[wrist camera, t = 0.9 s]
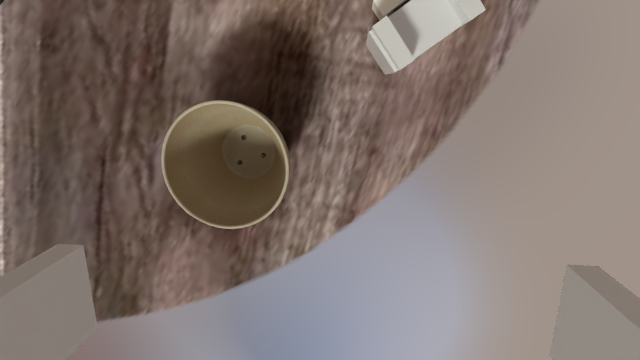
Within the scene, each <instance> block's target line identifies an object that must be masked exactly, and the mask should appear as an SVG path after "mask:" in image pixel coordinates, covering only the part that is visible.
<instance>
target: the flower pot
mask: <svg viewBox="0 0 640 360" xmlns="http://www.w3.org/2000/svg"><path fill="white" fill-rule="evenodd" d="M242 136H243V137H244V140H243V139H242ZM262 153H265V155H263V154H262ZM240 162H242V164H240ZM161 164H162V171H163V176H164V179H165V182H166V185H167V187H168V189H169V191H170V193H171V194H172V196H173V197H174V199H175V200H176V202H177V203H178V204H179V205H180V206H181V207H182V208H183V209H184V210H185V211H186V212H187V213H188V214H190V215H191V216H192V217H194V218H195V219H197V220H199V221H201V222H203V223H206V224H208V225H211V226H214V227H219V228H226V229H236V228H243V227H247V226H250V225H253V224H255V223H258V222H259V221H261V220H263V219H264V218H266V217H267V216H268V215H270V214H271V213H272V212H273V211H274V209H275V208H276V207H277V206H278V204H279V203H280V201H281V200H282V198H283V196H284V193H285V191H286V188H287V185H288V180H289V174H290V158H289V153H288V148H287V145H286V142H285V140H284V138H283V136H282V134H281V132H280V131H279V129H278V128H277V127H276V126H275V124H274V123H273V122H272V121H271V120H270V119H269V118H268V117H266V116H265V115H264V114H262V113H261V112H259V111H258V110H256V109H254V108H252V107H250V106H247V105H244V104H242V103H238V102H233V101H226V100H213V101H207V102H203V103H200V104H197V105H195V106H193V107H191V108H189V109H187V110H186V111H184V112H183V113H182V114H181V115H180V116H179V117H178V118H177V119H176V120H175V121H174V122H173V124H172V125H171V127H170V128H169V130H168V132H167V134H166V136H165V139H164V143H163V147H162V155H161Z"/></svg>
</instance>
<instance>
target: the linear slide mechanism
mask: <svg viewBox="0 0 640 360" xmlns="http://www.w3.org/2000/svg"><path fill="white" fill-rule="evenodd" d="M372 10H373V11H374V13H375V15H376V16H377V18H378V19H379V22H377V23H376V24H375V25H373V26H372V29H371V30H370V31H369V32H368V37H367V41H366V46H367V48H368V49H369V51H370V52H371V54H372V55H373V57H374V58H375V60H376V62H377V63H378V65H379V66H380V68H381V69H382V71H383V72H384V74H385V75H386V74H390V73H395V72H396V71H398V70H401V69H402V68H404V67H405V66H407V65H408V64H409V63H411V62H412V61H414V60H415V58H416V57H418V56H419V55H420V54H422V53H423V52H425V51H426V50H427V49H429V48H430V47H432V46H433V45H435V44H436V43H437V42H439V41H440V40H442V39H443V38H445V37H446V36H447V35H449V34H450V33H452V32H453V31H454V30H456V29H457V28H459V27H460V26H462V25H463V24H465V23H467V22H469V21H470V20H472V19H473V18H475V17H476V16H478V15H479V14H480V13H482V12H483V11H485V10H486V9H485V8H484V6H483V4H482V3H481V1H480V0H373V5H372Z"/></svg>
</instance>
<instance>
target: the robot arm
mask: <svg viewBox="0 0 640 360" xmlns="http://www.w3.org/2000/svg"><path fill="white" fill-rule="evenodd" d="M2 2H3V0H0V4H1V3H2ZM96 330H97V323H96V317H95V311H94V305H93V300H92V294H91V288H90V282H89V276H88V271H87V265H86V259H85V253H84V248H83V245H66V244H57V245H55V246H54V247H52V248H50V249H48V250H47V251H45V252H43V253H41V254H40V255H38V256H36V257H34V258H33V259H31V260H29V261H27V262H26V263H24V264H22V265H20V266H19V267H17V268H15V269H13V270H12V271H10V272H8V273H6V274H5V275H3V276H1V277H0V360H67V359H68V358H69V357H70V356H71V355H72V354H73V353H74V352H75V351H76V350H77V349H78V348H79V347H80V346H81V345H82V344H83V343H84V342H85V341H86V340H87V339H88V338H89V337H90V336H91V335H92V334H93V333H94V332H95V331H96ZM550 357H551V358H552V360H640V298H638V297H637V296H636V295H635V294H633V293H632V292H631V291H629V290H628V289H627V288H625V287H624V286H623V285H622V284H620V283H619V282H618V281H616V280H615V279H614V278H612V277H611V276H610V275H609V274H607V273H606V272H605V271H604V270H602V269H601V268H600V267H598V266H583V265H567V266H566V271H565V276H564V282H563V287H562V292H561V297H560V302H559V307H558V313H557V318H556V323H555V328H554V333H553V339H552V344H551V349H550Z"/></svg>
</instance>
